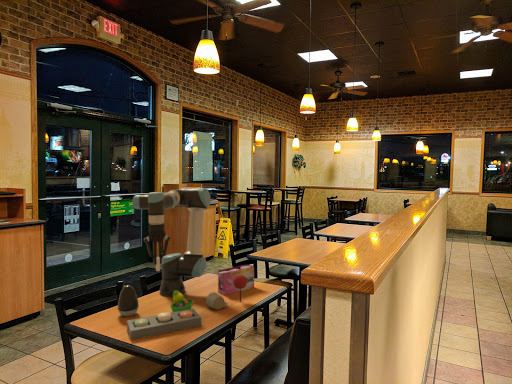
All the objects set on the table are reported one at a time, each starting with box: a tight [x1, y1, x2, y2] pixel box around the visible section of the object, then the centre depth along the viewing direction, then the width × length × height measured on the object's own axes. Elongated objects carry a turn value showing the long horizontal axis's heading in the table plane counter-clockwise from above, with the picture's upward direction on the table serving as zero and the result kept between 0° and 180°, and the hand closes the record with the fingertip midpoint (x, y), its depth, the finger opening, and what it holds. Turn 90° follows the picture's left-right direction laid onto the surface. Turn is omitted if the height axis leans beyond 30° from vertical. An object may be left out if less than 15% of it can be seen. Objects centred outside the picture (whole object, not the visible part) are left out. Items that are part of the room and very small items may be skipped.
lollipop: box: [233, 275, 247, 302], centre depth 206 cm, size 8×8×15 cm
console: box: [126, 308, 202, 341], centre depth 172 cm, size 13×32×4 cm, turn 117°
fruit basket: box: [170, 291, 194, 313], centre depth 191 cm, size 11×9×11 cm
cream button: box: [157, 311, 172, 322], centre depth 172 cm, size 6×6×2 cm
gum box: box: [217, 264, 255, 296], centre depth 226 cm, size 24×8×14 cm, turn 129°
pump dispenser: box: [117, 284, 139, 317], centre depth 189 cm, size 10×10×15 cm
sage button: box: [134, 318, 148, 327], centre depth 168 cm, size 6×6×2 cm
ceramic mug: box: [205, 291, 228, 311], centre depth 197 cm, size 11×8×8 cm
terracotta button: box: [180, 311, 193, 319], centre depth 177 cm, size 6×6×2 cm
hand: (157, 270), depth 182 cm, fingers closed
